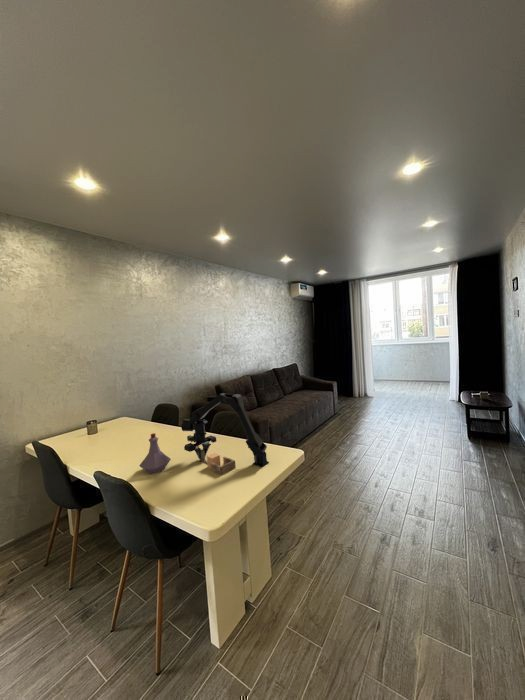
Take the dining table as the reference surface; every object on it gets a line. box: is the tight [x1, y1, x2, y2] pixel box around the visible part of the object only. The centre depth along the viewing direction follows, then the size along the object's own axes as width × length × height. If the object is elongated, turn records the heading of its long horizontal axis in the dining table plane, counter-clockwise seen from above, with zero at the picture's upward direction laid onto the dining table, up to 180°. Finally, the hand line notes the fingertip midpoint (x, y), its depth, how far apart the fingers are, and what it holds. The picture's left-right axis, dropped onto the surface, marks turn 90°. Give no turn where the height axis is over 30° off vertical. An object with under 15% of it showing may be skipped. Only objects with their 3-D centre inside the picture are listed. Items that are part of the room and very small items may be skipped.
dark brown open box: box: [210, 456, 237, 476], centre depth 142 cm, size 9×10×4 cm
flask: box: [138, 432, 172, 475], centre depth 147 cm, size 16×16×20 cm
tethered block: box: [199, 448, 222, 469], centre depth 150 cm, size 16×5×6 cm, turn 44°
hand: (202, 457), depth 155 cm, fingers closed on tethered block, 3 cm apart
